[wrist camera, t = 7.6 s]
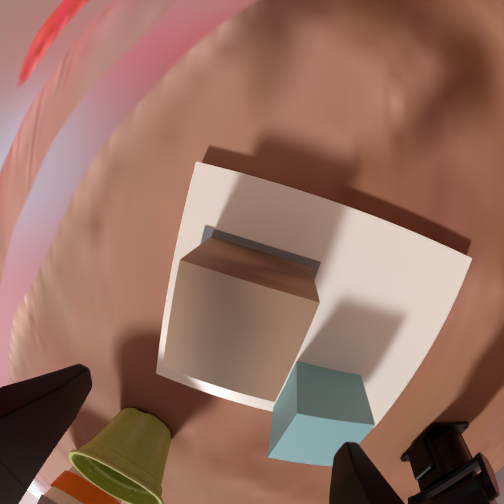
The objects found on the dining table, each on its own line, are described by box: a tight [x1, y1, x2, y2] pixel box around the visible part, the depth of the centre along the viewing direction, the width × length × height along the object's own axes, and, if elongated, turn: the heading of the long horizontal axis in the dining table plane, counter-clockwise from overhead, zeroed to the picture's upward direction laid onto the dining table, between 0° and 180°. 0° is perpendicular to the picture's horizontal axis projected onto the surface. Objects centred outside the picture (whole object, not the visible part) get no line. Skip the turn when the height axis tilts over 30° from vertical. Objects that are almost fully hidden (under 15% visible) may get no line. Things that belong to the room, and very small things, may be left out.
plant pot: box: [68, 408, 171, 504], centre depth 19 cm, size 9×9×9 cm
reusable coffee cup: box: [37, 466, 122, 504], centre depth 23 cm, size 13×13×15 cm
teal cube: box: [268, 361, 375, 466], centre depth 16 cm, size 5×5×5 cm
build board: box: [156, 162, 472, 428], centre depth 17 cm, size 19×16×1 cm
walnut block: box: [163, 237, 320, 402], centre depth 14 cm, size 6×6×5 cm
